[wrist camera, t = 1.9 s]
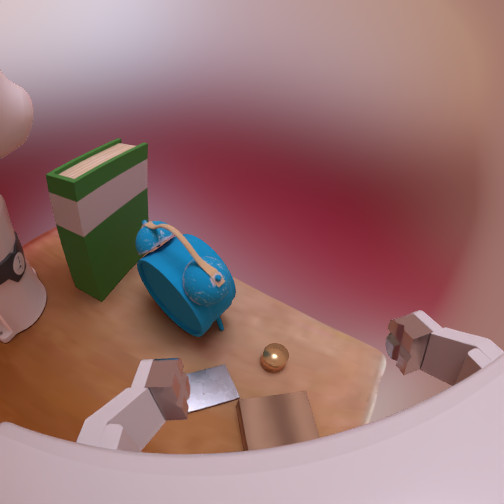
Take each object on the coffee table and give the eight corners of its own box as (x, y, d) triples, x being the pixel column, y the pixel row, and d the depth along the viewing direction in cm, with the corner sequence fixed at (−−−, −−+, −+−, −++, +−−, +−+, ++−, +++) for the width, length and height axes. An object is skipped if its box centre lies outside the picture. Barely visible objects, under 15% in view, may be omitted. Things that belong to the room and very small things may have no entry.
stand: (247, 467, 28) (251, 465, 26) (236, 405, 35) (239, 399, 34) (315, 453, 30) (323, 450, 29) (299, 397, 38) (305, 390, 36)
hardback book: (124, 238, 59) (117, 138, 44) (150, 248, 58) (147, 143, 43) (75, 287, 45) (45, 174, 30) (102, 301, 44) (73, 182, 29)
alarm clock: (240, 327, 47) (264, 235, 34) (199, 364, 40) (206, 275, 27) (175, 276, 53) (177, 185, 41) (134, 303, 46) (120, 207, 33)
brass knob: (262, 374, 40) (266, 366, 39) (257, 353, 43) (261, 344, 41) (286, 371, 41) (291, 363, 40) (280, 351, 44) (285, 342, 42)
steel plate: (188, 414, 33) (187, 412, 33) (175, 379, 37) (175, 376, 37) (238, 399, 37) (239, 397, 36) (223, 367, 41) (224, 364, 40)
